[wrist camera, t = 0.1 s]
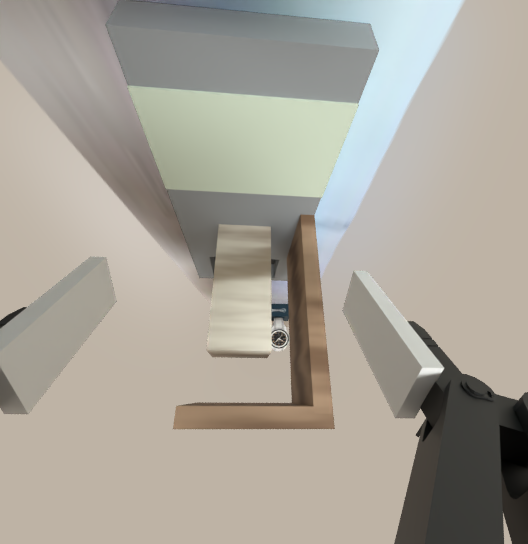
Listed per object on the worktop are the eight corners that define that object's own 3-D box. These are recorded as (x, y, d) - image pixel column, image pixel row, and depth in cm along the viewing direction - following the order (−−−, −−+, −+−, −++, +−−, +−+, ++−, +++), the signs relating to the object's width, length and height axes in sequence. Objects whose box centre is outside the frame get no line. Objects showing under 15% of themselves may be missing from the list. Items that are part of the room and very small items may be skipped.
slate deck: (119, -1, 15) (104, 26, 14) (370, 23, 16) (379, 51, 15) (201, 261, 45) (199, 278, 43) (287, 265, 46) (288, 281, 44)
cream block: (218, 224, 30) (206, 349, 24) (270, 226, 30) (271, 350, 24) (222, 246, 34) (212, 357, 28) (267, 248, 35) (267, 357, 29)
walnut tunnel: (202, 209, 28) (173, 429, 19) (314, 215, 28) (334, 428, 20) (212, 255, 37) (195, 418, 28) (297, 258, 37) (305, 418, 29)
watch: (289, 301, 64) (291, 347, 59) (287, 311, 71) (288, 353, 66) (266, 301, 64) (266, 347, 59) (266, 311, 71) (266, 352, 66)
